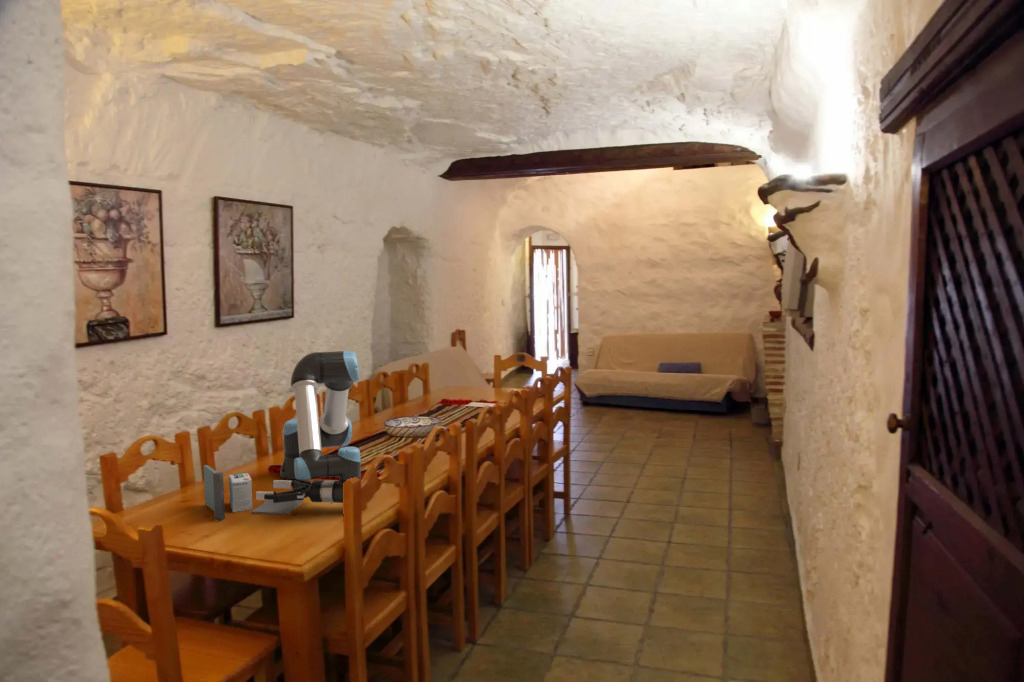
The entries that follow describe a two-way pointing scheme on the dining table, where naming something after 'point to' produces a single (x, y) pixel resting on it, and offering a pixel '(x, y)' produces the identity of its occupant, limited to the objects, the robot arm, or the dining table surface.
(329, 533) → the dining table surface
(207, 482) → the gate
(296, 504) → the rubber mat
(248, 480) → the light bulb box
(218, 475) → the gate post
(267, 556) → the dining table surface
